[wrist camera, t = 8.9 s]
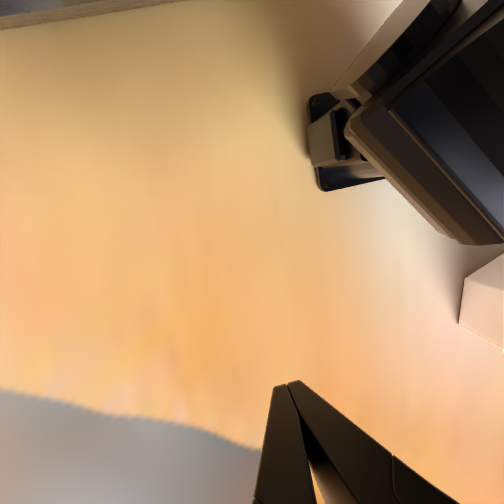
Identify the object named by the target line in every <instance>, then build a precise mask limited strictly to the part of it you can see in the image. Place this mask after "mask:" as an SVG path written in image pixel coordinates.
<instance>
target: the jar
mask: <svg viewBox="0 0 504 504" xmlns="http://www.w3.org/2000/svg"><path fill="white" fill-rule="evenodd" d="M459 326H460V327H461V328H463V329H465V330H467V331H469V332H470V333H472V334H474V335H476V336H478V337H480V338H481V339H483V340H485V341H487V342H489V343H490V344H492V345H494V346H496V347H498V348H499V349H501V350H502V351H503V352H504V253H503V254H501V255H500V256H498V257H497V258H495V259H494V260H492V261H491V262H489V263H488V264H486V265H484V266H483V267H481V268H480V269H478V270H477V271H475V272H474V273H472V274H471V275H469V276H468V277H466V278H465V280H464V288H463V295H462V302H461V310H460V317H459Z"/></svg>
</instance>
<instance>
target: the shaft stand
mask: <svg viewBox="0 0 504 504" xmlns="http://www.w3.org/2000/svg"><path fill="white" fill-rule="evenodd" d="M177 1H184V0H0V30H1V29H7V28H14V27H20V26H26V25H33V24H39V23H45V22H52V21H58V20H64V19H70V18H77V17H83V16H89V15H96V14H102V13H108V12H114V11H121V10H127V9H133V8H140V7H146V6H152V5H159V4H165V3H171V2H177Z"/></svg>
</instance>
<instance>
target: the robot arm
mask: <svg viewBox="0 0 504 504" xmlns="http://www.w3.org/2000/svg"><path fill="white" fill-rule="evenodd" d="M312 101H316V102H317V107H314V106H313V105H312ZM307 111H308V118H309V127H308V128H307V135H308V142H309V148H310V155H311V162H312V165H313V166H314V167H316V173H317V179H318V186H319V189H320V190H321V191H323V192H328V191H333V190H337V189H342V188H346V187H351V186H355V185H359V184H364V183H368V182H373V181H377V180H382V179H387V180H388V181H389V182H390V183H391V184H392V185H393V186H394V187H395V188H396V190H397V191H398V192H399V193H400V194H401V195H402V196H403V197H404V198H405V199H406V200H407V201H408V202H409V203H410V204H411V205H412V206H413V207H414V208H415V209H416V210H417V211H418V212H419V213H420V214H421V215H422V216H423V217H424V218H425V219H426V220H427V221H428V222H429V223H430V224H431V225H432V226H433V227H434V228H435V229H436V230H437V231H438V232H440V233H442V234H444V235H446V236H448V237H450V238H453V239H456V240H457V241H458V242H459V243H460V244H465V245H490V244H500V243H504V0H404V1H403V2H402V3H401V4H400V5H399V6H398V7H397V8H396V9H395V10H394V12H393V13H392V14H391V15H390V16H389V18H388V19H387V20H386V21H385V23H384V24H383V25H382V26H381V28H380V29H379V30H378V31H377V33H376V34H375V35H374V36H373V38H372V39H371V40H370V42H369V43H368V44H367V45H366V47H365V48H364V49H363V50H362V52H361V53H360V54H359V55H358V57H357V58H356V59H355V60H354V62H353V63H352V64H351V65H350V67H349V68H348V69H347V70H346V72H345V73H344V74H343V76H342V77H341V78H340V79H339V81H338V82H337V83H336V84H335V86H334V87H333V88H332V89H331V91H330V92H327V93H322V94H317V95H313V96H312V97H311V98H310V99H309V100H308V101H307ZM325 182H328V187H327V188H325V187H324V183H325ZM309 465H310V466H309ZM310 468H311V470H312V473H313V475H314V478H315V480H316V482H317V485H318V487H319V489H320V492H321V494H322V496H323V499H324V501H325V503H326V504H460V503H458V502H457V501H455V500H454V499H452V498H451V497H450V496H448V495H447V494H445V493H444V492H442V491H441V490H439V489H438V488H437V487H435V486H434V485H432V484H431V483H429V482H428V481H427V480H426V479H424V478H423V477H422V476H420V475H419V474H418V473H416V472H415V471H414V470H412V469H411V468H410V467H408V466H407V465H406V464H405V463H403V462H402V461H401V460H400V459H398V458H397V457H396V456H394V455H393V456H392V453H391V452H389V451H388V450H387V449H386V448H384V447H383V446H382V445H381V444H379V443H378V442H377V441H376V440H374V439H373V438H372V437H371V436H369V435H368V434H367V433H366V432H364V431H363V430H362V429H361V428H359V427H358V426H357V425H355V424H354V423H353V422H352V421H350V420H349V419H348V418H347V417H345V416H344V415H343V414H342V413H340V412H339V411H338V410H337V409H335V408H334V407H333V406H332V405H330V404H329V403H328V402H327V401H325V400H324V399H323V398H322V397H320V396H319V395H318V394H317V393H315V392H314V391H313V390H312V389H310V388H309V387H308V386H306V385H305V384H304V383H303V382H301V381H300V380H296V381H293V382H289V383H288V384H287V385H286V384H282V385H279V386H275V387H274V388H273V392H272V398H271V403H270V409H269V414H268V420H267V425H266V431H265V436H264V441H263V447H262V452H261V458H260V463H259V469H258V474H257V480H256V485H255V491H254V499H253V501H252V504H317V501H316V496H315V491H314V486H313V481H312V476H311V471H310Z"/></svg>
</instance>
